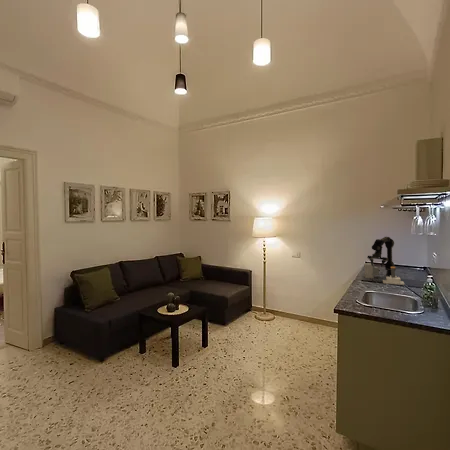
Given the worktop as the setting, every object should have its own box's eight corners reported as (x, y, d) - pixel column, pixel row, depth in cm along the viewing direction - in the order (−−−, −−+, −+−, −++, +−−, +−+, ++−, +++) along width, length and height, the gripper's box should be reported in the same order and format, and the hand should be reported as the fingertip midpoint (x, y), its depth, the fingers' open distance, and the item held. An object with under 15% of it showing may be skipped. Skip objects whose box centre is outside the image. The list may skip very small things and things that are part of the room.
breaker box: (382, 281, 298) (382, 274, 297) (403, 282, 290) (403, 275, 290) (383, 283, 289) (383, 276, 288) (404, 285, 281) (404, 277, 281)
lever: (390, 276, 291) (390, 267, 295) (395, 277, 289) (394, 267, 293) (391, 276, 289) (390, 266, 293) (395, 276, 288) (395, 266, 292)
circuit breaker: (380, 278, 308) (380, 264, 308) (366, 278, 311) (366, 264, 310) (378, 276, 316) (378, 263, 315) (364, 276, 319) (364, 263, 318)
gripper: (365, 249, 300) (364, 264, 299) (384, 251, 286) (383, 266, 284) (370, 251, 307) (368, 265, 306) (389, 252, 293) (387, 268, 291)
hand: (376, 266), depth 296 cm, fingers open, 9 cm apart
